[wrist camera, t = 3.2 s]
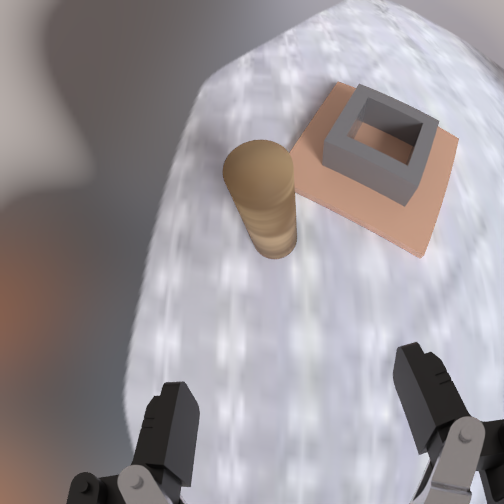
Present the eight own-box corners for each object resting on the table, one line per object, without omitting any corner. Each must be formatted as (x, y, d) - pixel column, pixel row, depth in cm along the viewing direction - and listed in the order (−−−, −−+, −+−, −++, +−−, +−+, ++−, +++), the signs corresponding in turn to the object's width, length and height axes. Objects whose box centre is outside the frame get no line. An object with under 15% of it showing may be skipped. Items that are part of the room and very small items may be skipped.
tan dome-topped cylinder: (267, 211, 29) (246, 131, 18) (304, 230, 28) (305, 155, 17) (245, 246, 28) (209, 181, 17) (282, 267, 27) (270, 211, 16)
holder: (337, 87, 32) (339, 57, 28) (455, 143, 28) (471, 117, 23) (274, 182, 30) (269, 153, 25) (420, 258, 25) (441, 241, 21)
